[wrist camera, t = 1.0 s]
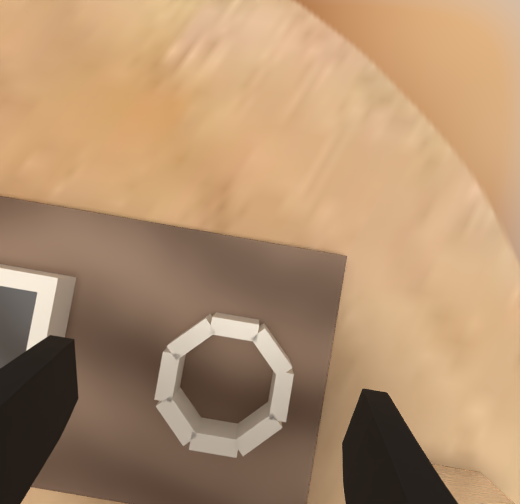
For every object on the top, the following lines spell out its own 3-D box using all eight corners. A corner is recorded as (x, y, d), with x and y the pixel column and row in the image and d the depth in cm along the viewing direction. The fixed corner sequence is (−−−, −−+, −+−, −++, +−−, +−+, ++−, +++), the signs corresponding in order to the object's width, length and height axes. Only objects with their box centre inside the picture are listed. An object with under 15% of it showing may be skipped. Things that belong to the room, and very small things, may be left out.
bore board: (299, 520, 22) (306, 560, 19) (-118, 450, 22) (-177, 478, 19) (342, 256, 23) (356, 254, 20) (-63, 186, 23) (-112, 173, 20)
